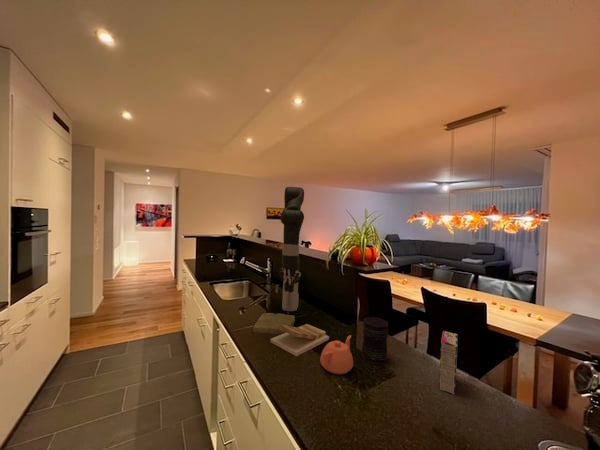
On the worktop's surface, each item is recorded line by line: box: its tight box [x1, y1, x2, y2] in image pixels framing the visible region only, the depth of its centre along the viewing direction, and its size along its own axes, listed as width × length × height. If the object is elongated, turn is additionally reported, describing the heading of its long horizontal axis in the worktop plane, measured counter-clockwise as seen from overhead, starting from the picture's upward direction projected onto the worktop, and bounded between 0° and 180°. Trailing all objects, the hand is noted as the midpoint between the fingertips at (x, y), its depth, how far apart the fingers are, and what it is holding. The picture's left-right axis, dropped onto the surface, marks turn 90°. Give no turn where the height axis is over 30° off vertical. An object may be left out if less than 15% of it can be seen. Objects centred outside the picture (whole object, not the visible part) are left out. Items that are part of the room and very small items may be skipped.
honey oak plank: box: [275, 324, 316, 339], centre depth 114 cm, size 15×12×2 cm
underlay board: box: [270, 332, 330, 357], centre depth 116 cm, size 22×16×2 cm
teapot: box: [319, 334, 354, 375], centre depth 98 cm, size 12×18×10 cm
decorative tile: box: [252, 312, 296, 335], centre depth 132 cm, size 19×20×4 cm
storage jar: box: [361, 316, 389, 365], centre depth 105 cm, size 10×10×15 cm
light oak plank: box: [297, 323, 327, 339], centre depth 122 cm, size 7×12×2 cm, turn 47°
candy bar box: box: [438, 330, 459, 395], centre depth 89 cm, size 11×5×16 cm, turn 148°
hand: (288, 291), depth 116 cm, fingers closed
